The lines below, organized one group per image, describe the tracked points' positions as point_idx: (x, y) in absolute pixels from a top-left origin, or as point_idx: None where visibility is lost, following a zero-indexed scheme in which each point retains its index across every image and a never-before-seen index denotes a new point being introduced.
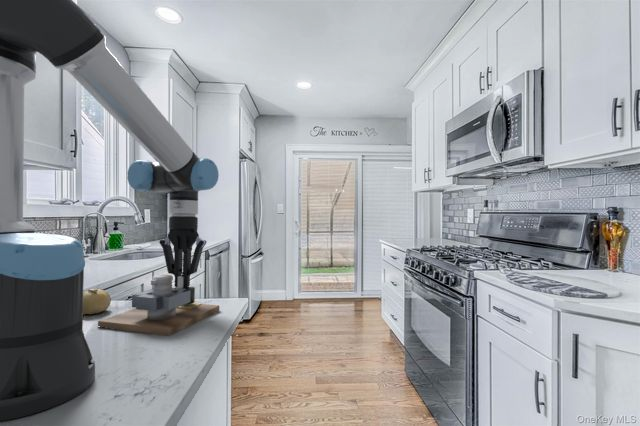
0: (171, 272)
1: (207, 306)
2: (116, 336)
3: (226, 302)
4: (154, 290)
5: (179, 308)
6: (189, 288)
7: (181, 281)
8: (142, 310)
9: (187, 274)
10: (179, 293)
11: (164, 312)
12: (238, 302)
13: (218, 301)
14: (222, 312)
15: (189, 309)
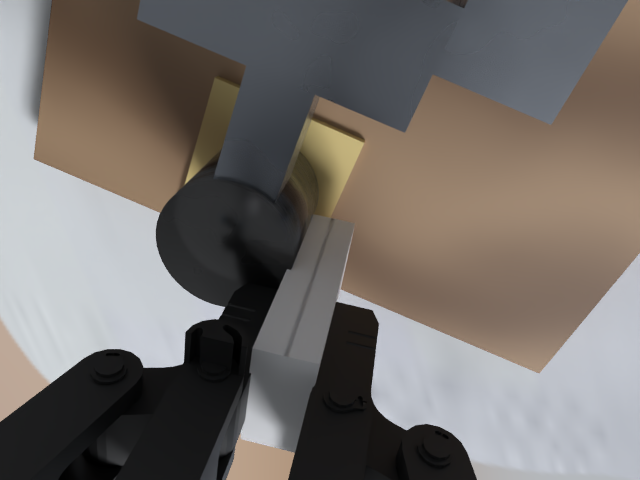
0: (409, 433)
1: (111, 143)
2: None
3: (97, 338)
4: None
5: (314, 114)
6: (199, 228)
7: (282, 313)
8: (635, 88)
9: (187, 373)
10: None
11: None
12: (23, 325)
13: None
14: (22, 105)
15: (220, 70)
